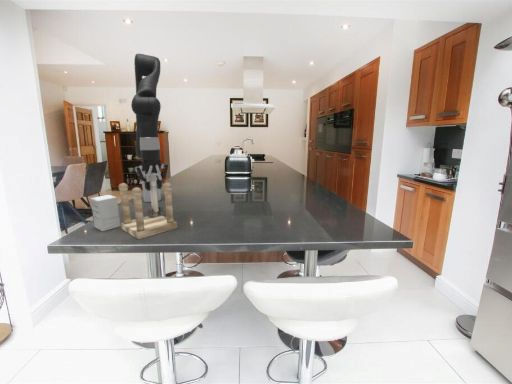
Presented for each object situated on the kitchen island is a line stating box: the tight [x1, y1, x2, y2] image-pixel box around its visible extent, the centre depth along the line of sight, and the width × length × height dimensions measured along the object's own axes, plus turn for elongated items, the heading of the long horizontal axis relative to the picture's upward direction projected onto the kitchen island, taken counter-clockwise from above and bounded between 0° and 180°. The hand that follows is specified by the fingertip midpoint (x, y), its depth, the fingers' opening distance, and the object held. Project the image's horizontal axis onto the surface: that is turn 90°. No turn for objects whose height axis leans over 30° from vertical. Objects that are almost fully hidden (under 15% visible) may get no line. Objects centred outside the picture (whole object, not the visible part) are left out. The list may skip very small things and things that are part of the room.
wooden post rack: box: [118, 182, 179, 240], centre depth 106 cm, size 16×17×19 cm
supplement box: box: [90, 194, 121, 232], centre depth 108 cm, size 7×7×13 cm
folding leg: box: [149, 179, 159, 213], centre depth 114 cm, size 3×3×14 cm
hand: (153, 189), depth 113 cm, fingers open, 4 cm apart
